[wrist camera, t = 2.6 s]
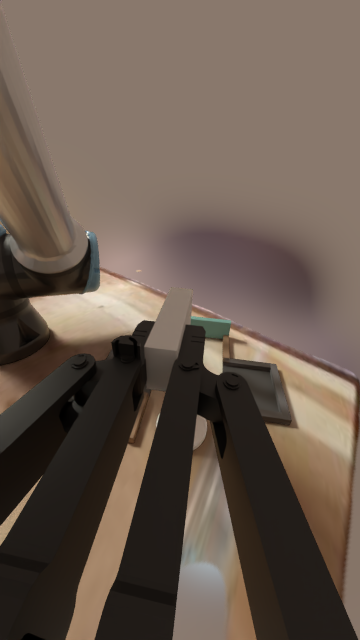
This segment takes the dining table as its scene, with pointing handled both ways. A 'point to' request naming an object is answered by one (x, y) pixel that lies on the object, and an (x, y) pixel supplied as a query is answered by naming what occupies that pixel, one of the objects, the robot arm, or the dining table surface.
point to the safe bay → (212, 326)
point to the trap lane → (260, 381)
